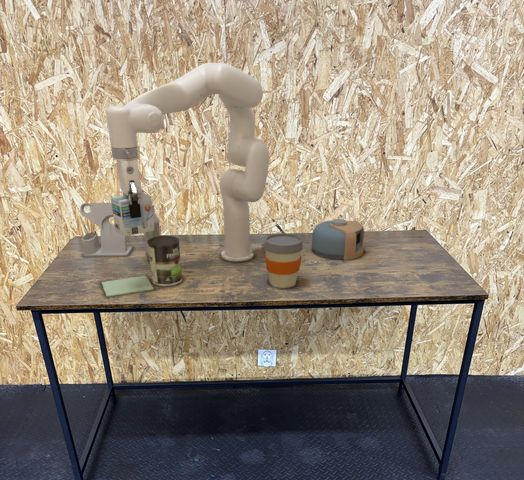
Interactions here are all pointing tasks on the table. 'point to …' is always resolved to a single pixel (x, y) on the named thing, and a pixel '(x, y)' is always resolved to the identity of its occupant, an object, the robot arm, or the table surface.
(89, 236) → the phone holder
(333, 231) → the alarm clock
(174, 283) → the coffee can
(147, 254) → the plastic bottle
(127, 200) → the light bulb box
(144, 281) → the pad
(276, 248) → the reusable coffee cup
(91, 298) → the table surface
